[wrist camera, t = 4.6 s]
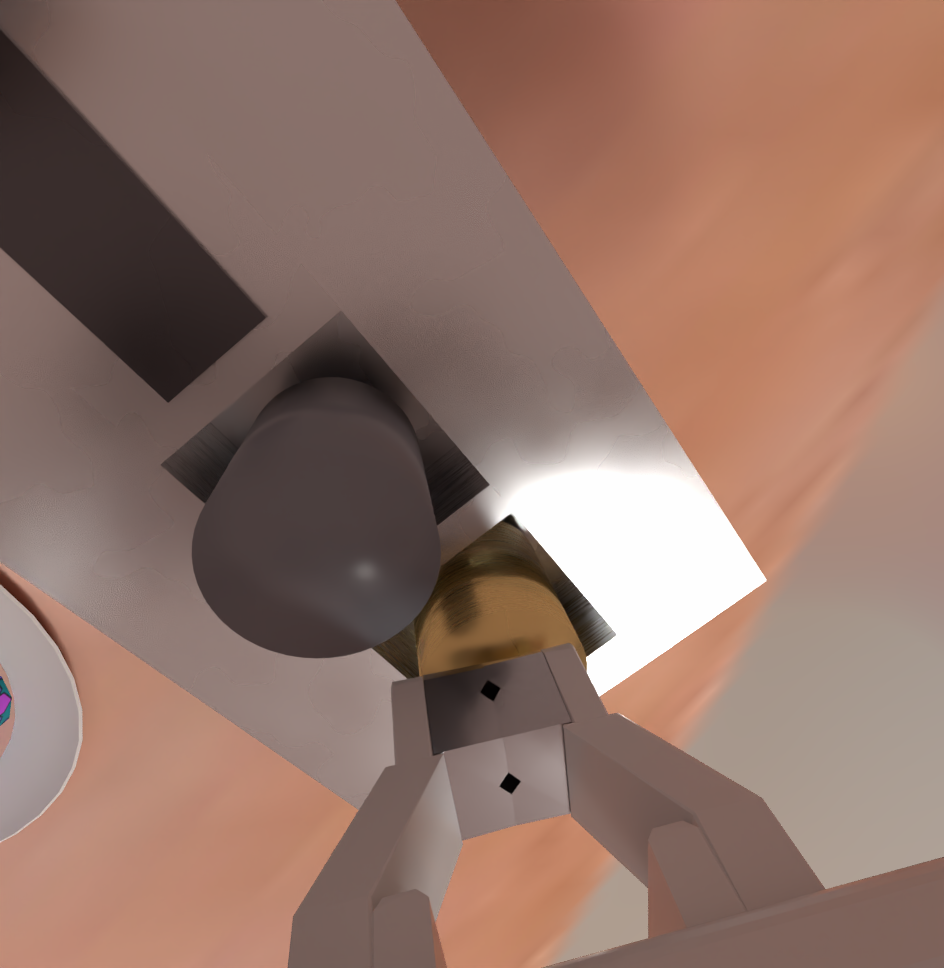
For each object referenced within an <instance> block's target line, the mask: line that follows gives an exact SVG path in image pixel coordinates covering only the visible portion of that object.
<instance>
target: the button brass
mask: <svg viewBox="0 0 944 968" xmlns="http://www.w3.org/2000/svg"><path fill="white" fill-rule="evenodd" d="M413 620H414V629H415V638H416V648H417V657H418V666H419V675H420V676H423V675H427V674H432V673H437V672H442V671H447V670H452V669H457V668H463V667H468V666H473V665H478V664H483V663H487V662H491V661H496V660H500V659H504V658H509V657H513V656H518V655H522V654H526V653H531V652H535V651H541V649H546V648H550V647H554V646H558V645H562V644H566V643H570V644H572V645H573V646H574V648H575V650H576V652H577V653H578V655H579V657H580V659H581V661H582V663H583V665H584V667H585V669H586V671H587V659H586V654H585V651H584V648H583V645H582V643H581V641H580V639H579V638H578V636H577V634H576V632H575V630H574V628H573V626H572V624H571V622H570V620H569V618H568V616H567V614H566V612H565V610H564V608H563V606H562V604H561V602H560V600H559V598H558V596H557V594H556V592H555V590H554V588H553V586H552V584H551V582H550V580H549V578H548V576H547V574H546V572H545V570H544V568H543V566H542V564H541V562H540V560H539V558H538V556H537V555H536V553H535V551H534V549H533V547H532V545H531V543H530V542H529V540H528V539H527V537H526V536H525V535H524V534H523V533H522V532H521V531H519V530H518V529H517V528H515V527H514V526H512V525H510V524H508V523H506V522H503V521H500V522H499V523H497V524H496V525H495V526H493V527H492V528H491V529H489V530H488V531H487V532H485V533H484V534H483V535H481V536H480V537H479V538H477V539H476V540H475V541H473V542H472V543H471V544H470V545H468V546H467V547H466V548H464V549H463V550H462V551H460V552H459V553H458V554H456V555H455V556H454V557H452V558H451V559H450V560H448V561H447V562H446V563H444V564H443V565H442V566H440V569H439V574H438V578H437V581H436V584H435V587H434V590H433V592H432V594H431V596H430V598H429V599H428V601H427V603H426V604H425V606H424V607H423V609H422V610H421V611H420V613H419V614H418V615H417V616H416V617H415V618H414V619H413Z"/></svg>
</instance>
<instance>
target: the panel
mask: <svg viewBox="0 0 944 968" xmlns="http://www.w3.org/2000/svg"><path fill="white" fill-rule="evenodd" d="M324 377H340V378H346V379H352V380H356V381H359V382H363V383H365V384H367V385H370V386H372V387H374V388H376V389H378V390H379V391H381V392H383V393H384V394H386V395H387V396H388V397H390V398H391V399H392V400H393V401H394V402H395V403H396V404H397V405H398V406H399V407H400V408H401V409H402V410H403V412H404V413H405V414H406V416H407V417H408V419H409V420H410V422H411V424H412V426H413V428H414V430H415V433H416V435H417V439H418V443H419V447H420V452H421V456H422V461H423V465H424V470H425V474H426V479H427V484H428V488H429V493H430V497H431V502H432V506H433V511H434V515H435V520H436V524H437V529H438V533H439V538H440V547H441V560H440V566H442V565H443V564H444V563H446V562H447V561H448V560H450V559H451V558H452V557H454V556H455V555H456V554H458V553H459V552H460V551H462V550H463V549H464V548H466V547H467V546H468V545H470V544H471V543H472V542H473V541H475V540H476V539H477V538H479V537H480V536H481V535H483V534H484V533H485V532H487V531H488V530H489V529H491V528H492V527H493V526H495V525H496V524H497V523H499V522H500V521H503V522H506V523H508V524H510V525H512V526H514V527H515V528H517V529H518V530H519V531H521V532H522V533H523V534H524V535H525V536H526V537H527V539H528V540H529V542H530V543H531V545H532V547H533V549H534V551H535V553H536V555H537V556H538V558H539V560H540V562H541V564H542V566H543V568H544V570H545V572H546V574H547V576H548V578H549V580H550V582H551V584H552V586H553V588H554V590H555V592H556V594H557V596H558V598H559V600H560V602H561V604H562V606H563V608H564V610H565V612H566V614H567V616H568V618H569V620H570V622H571V624H572V626H573V628H574V630H575V632H576V634H577V636H578V638H579V639H580V641H581V643H582V645H583V648H584V651H585V654H586V659H587V673H588V675H589V677H590V679H591V681H592V683H593V685H594V687H595V689H596V691H597V693H598V695H599V696H600V695H602V694H603V693H605V692H606V691H608V690H609V689H610V688H612V687H613V686H615V685H616V684H618V683H619V682H621V681H622V680H623V679H625V678H626V677H628V676H629V675H631V674H632V673H634V672H635V671H637V670H638V669H639V668H641V667H642V666H644V665H645V664H647V663H648V662H650V661H651V660H652V659H654V658H655V657H657V656H658V655H660V654H661V653H663V652H664V651H666V650H667V649H668V648H670V647H671V646H673V645H674V644H676V643H677V642H679V641H680V640H681V639H683V638H684V637H686V636H687V635H689V634H690V633H692V632H693V631H694V630H696V629H697V628H699V627H700V626H702V625H703V624H705V623H706V622H708V621H709V620H710V619H712V618H713V617H715V616H716V615H718V614H719V613H721V612H722V611H723V610H725V609H726V608H728V607H729V606H731V605H732V604H734V603H735V602H737V601H738V600H739V599H741V598H742V597H744V596H745V595H747V594H748V593H750V592H751V591H752V590H754V589H755V588H757V587H758V586H760V585H761V584H763V583H764V582H766V581H767V580H766V579H765V577H764V575H763V574H762V572H761V571H760V569H759V568H758V566H757V564H756V563H755V561H754V560H753V558H752V557H751V555H750V554H749V552H748V550H747V549H746V547H745V546H744V544H743V543H742V541H741V539H740V538H739V536H738V535H737V533H736V532H735V530H734V529H733V527H732V525H731V524H730V522H729V521H728V519H727V518H726V516H725V514H724V513H723V511H722V510H721V508H720V507H719V505H718V504H717V502H716V500H715V499H714V497H713V496H712V494H711V493H710V491H709V489H708V488H707V486H706V485H705V483H704V482H703V480H702V479H701V477H700V475H699V474H698V472H697V471H696V469H695V468H694V466H693V464H692V463H691V461H690V460H689V458H688V457H687V455H686V454H685V452H684V450H683V449H682V447H681V446H680V444H679V443H678V441H677V439H676V438H675V436H674V435H673V433H672V432H671V430H670V429H669V427H668V425H667V424H666V422H665V421H664V419H663V418H662V416H661V414H660V413H659V411H658V410H657V408H656V407H655V405H654V404H653V402H652V400H651V399H650V397H649V396H648V394H647V393H646V391H645V389H644V388H643V386H642V385H641V383H640V382H639V380H638V379H637V377H636V375H635V374H634V372H633V371H632V369H631V368H630V366H629V364H628V363H627V361H626V360H625V358H624V357H623V355H622V354H621V352H620V350H619V349H618V347H617V346H616V344H615V343H614V341H613V339H612V338H611V336H610V335H609V333H608V332H607V330H606V329H605V327H604V325H603V324H602V322H601V321H600V319H599V318H598V316H597V315H596V313H595V311H594V310H593V308H592V307H591V305H590V304H589V302H588V300H587V299H586V297H585V296H584V294H583V293H582V291H581V290H580V288H579V286H578V285H577V283H576V282H575V280H574V279H573V277H572V275H571V274H570V272H569V271H568V269H567V268H566V266H565V265H564V263H563V261H562V260H561V258H560V257H559V255H558V254H557V252H556V250H555V249H554V247H553V246H552V244H551V243H550V241H549V240H548V238H547V236H546V235H545V233H544V232H543V230H542V229H541V227H540V225H539V224H538V222H537V221H536V219H535V218H534V216H533V215H532V213H531V211H530V210H529V208H528V207H527V205H526V204H525V202H524V200H523V199H522V197H521V196H520V194H519V193H518V191H517V190H516V188H515V186H514V185H513V183H512V182H511V180H510V179H509V177H508V175H507V174H506V172H505V171H504V169H503V168H502V166H501V165H500V163H499V161H498V160H497V158H496V157H495V155H494V154H493V152H492V150H491V149H490V147H489V146H488V144H487V143H486V141H485V140H484V138H483V136H482V135H481V133H480V132H479V130H478V129H477V127H476V125H475V124H474V122H473V121H472V119H471V118H470V116H469V115H468V113H467V111H466V110H465V108H464V107H463V105H462V104H461V102H460V100H459V99H458V97H457V96H456V94H455V93H454V91H453V90H452V88H451V86H450V85H449V83H448V82H447V80H446V79H445V77H444V75H443V74H442V72H441V71H440V69H439V68H438V66H437V65H436V63H435V61H434V60H433V58H432V57H431V55H430V54H429V52H428V50H427V49H426V47H425V46H424V44H423V43H422V41H421V40H420V38H419V36H418V35H417V33H416V32H415V30H414V29H413V27H412V25H411V24H410V22H409V21H408V19H407V18H406V16H405V15H404V13H403V11H402V10H401V8H400V7H399V5H398V4H397V2H396V0H0V562H1V563H2V564H4V565H5V566H7V567H8V568H10V569H11V570H12V571H14V572H15V573H17V574H18V575H20V576H21V577H23V578H24V579H25V580H27V581H28V582H30V583H31V584H33V585H34V586H36V587H37V588H39V589H40V590H41V591H43V592H44V593H46V594H47V595H49V596H50V597H52V598H53V599H54V600H56V601H57V602H59V603H60V604H62V605H63V606H65V607H66V608H67V609H69V610H70V611H72V612H73V613H75V614H76V615H78V616H79V617H80V618H82V619H83V620H85V621H86V622H88V623H89V624H91V625H92V626H93V627H95V628H96V629H98V630H99V631H101V632H102V633H104V634H105V635H107V636H108V637H109V638H111V639H112V640H114V641H115V642H117V643H118V644H120V645H121V646H122V647H124V648H125V649H127V650H128V651H130V652H131V653H133V654H134V655H135V656H137V657H138V658H140V659H141V660H143V661H144V662H146V663H147V664H148V665H150V666H151V667H153V668H154V669H156V670H157V671H159V672H160V673H161V674H163V675H164V676H166V677H167V678H169V679H170V680H172V681H173V682H174V683H176V684H177V685H179V686H180V687H182V688H183V689H185V690H186V691H188V692H189V693H190V694H192V695H193V696H195V697H196V698H198V699H199V700H201V701H202V702H203V703H205V704H206V705H208V706H209V707H211V708H212V709H214V710H215V711H216V712H218V713H219V714H221V715H222V716H224V717H225V718H227V719H228V720H229V721H231V722H232V723H234V724H235V725H237V726H238V727H240V728H241V729H242V730H244V731H245V732H247V733H248V734H250V735H251V736H253V737H254V738H256V739H257V740H258V741H260V742H261V743H263V744H264V745H266V746H267V747H269V748H270V749H271V750H273V751H274V752H276V753H277V754H279V755H280V756H282V757H283V758H284V759H286V760H287V761H289V762H290V763H292V764H293V765H295V766H296V767H297V768H299V769H300V770H302V771H303V772H305V773H306V774H308V775H309V776H310V777H312V778H313V779H315V780H316V781H318V782H319V783H321V784H322V785H324V786H325V787H326V788H328V789H329V790H331V791H332V792H334V793H335V794H337V795H338V796H339V797H341V798H342V799H344V800H345V801H347V802H348V803H350V804H351V805H352V806H354V807H355V808H357V809H358V810H359V809H360V807H361V806H362V804H363V803H364V801H365V799H366V798H367V796H368V795H369V793H370V791H371V790H372V788H373V786H374V785H375V783H376V782H377V780H378V778H379V777H380V775H381V773H382V772H383V770H384V769H385V767H388V766H392V765H395V757H394V739H393V721H392V704H391V685H392V682H394V681H399V680H405V679H410V678H415V677H420V675H419V666H418V657H417V648H416V638H415V629H414V620H413V621H412V622H411V623H410V624H409V625H407V626H406V627H405V628H404V629H403V630H401V631H400V632H399V633H398V634H396V635H394V636H393V637H391V638H390V639H388V640H387V641H385V642H383V643H381V644H379V645H377V646H375V647H372V648H370V649H367V650H364V651H362V652H358V653H354V654H351V655H347V656H340V657H334V658H301V657H295V656H288V655H284V654H280V653H277V652H273V651H270V650H267V649H265V648H262V647H260V646H257V645H256V644H254V643H252V642H250V641H248V640H246V639H244V638H243V637H241V636H240V635H238V634H237V633H235V632H234V631H232V630H231V629H230V628H229V627H228V626H227V625H226V624H225V623H223V622H222V621H221V620H220V619H219V617H218V616H217V615H216V614H215V613H214V612H213V611H212V609H211V608H210V606H209V605H208V603H207V602H206V600H205V599H204V597H203V595H202V593H201V591H200V589H199V587H198V584H197V581H196V578H195V574H194V571H193V564H192V540H193V534H194V529H195V526H196V523H197V520H198V518H199V515H200V513H201V511H202V509H203V507H204V506H205V504H206V502H207V500H208V498H209V497H210V495H211V493H212V492H213V490H214V488H215V487H216V485H217V483H218V482H219V480H220V478H221V477H222V475H223V473H224V472H225V470H226V468H227V467H228V465H229V463H230V462H231V460H232V458H233V457H234V455H235V453H236V452H237V450H238V448H239V447H240V445H241V443H242V442H243V440H244V438H245V437H246V435H247V433H248V432H249V430H250V428H251V427H252V425H253V423H254V422H255V420H256V418H257V417H258V415H259V413H260V412H261V411H262V410H263V408H264V407H265V406H266V405H267V404H268V403H269V402H270V401H271V400H272V399H273V398H274V397H275V396H276V395H278V394H279V393H281V392H282V391H283V390H285V389H287V388H289V387H291V386H293V385H295V384H298V383H300V382H303V381H306V380H311V379H315V378H324Z"/></svg>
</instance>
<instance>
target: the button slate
mask: <svg viewBox="0 0 944 968" xmlns="http://www.w3.org/2000/svg"><path fill="white" fill-rule="evenodd" d="M440 560H441V547H440V538H439V533H438V529H437V524H436V520H435V515H434V511H433V506H432V502H431V497H430V493H429V488H428V484H427V479H426V474H425V470H424V465H423V461H422V456H421V452H420V447H419V443H418V439H417V435H416V433H415V430H414V428H413V426H412V424H411V422H410V420H409V419H408V417H407V416H406V414H405V413H404V412H403V410H402V409H401V408H400V407H399V406H398V405H397V404H396V403H395V402H394V401H393V400H392V399H391V398H390V397H388V396H387V395H386V394H384V393H383V392H381V391H379V390H378V389H376V388H374V387H372V386H370V385H367V384H365V383H363V382H359V381H356V380H352V379H346V378H340V377H324V378H315V379H311V380H306V381H303V382H300V383H298V384H295V385H293V386H291V387H289V388H287V389H285V390H283V391H282V392H281V393H279V394H278V395H276V396H275V397H274V398H273V399H272V400H271V401H270V402H269V403H268V404H267V405H266V406H265V407H264V408H263V410H262V411H261V412H260V413H259V415H258V417H257V418H256V420H255V422H254V423H253V425H252V427H251V428H250V430H249V432H248V433H247V435H246V437H245V438H244V440H243V442H242V443H241V445H240V447H239V448H238V450H237V452H236V453H235V455H234V457H233V458H232V460H231V462H230V463H229V465H228V467H227V468H226V470H225V472H224V473H223V475H222V477H221V478H220V480H219V482H218V483H217V485H216V487H215V488H214V490H213V492H212V493H211V495H210V497H209V498H208V500H207V502H206V504H205V506H204V507H203V509H202V511H201V513H200V515H199V518H198V520H197V523H196V526H195V529H194V534H193V540H192V564H193V571H194V574H195V578H196V581H197V584H198V587H199V589H200V591H201V593H202V595H203V597H204V599H205V600H206V602H207V603H208V605H209V606H210V608H211V609H212V611H213V612H214V613H215V614H216V615H217V616H218V617H219V619H220V620H221V621H222V622H223V623H225V624H226V625H227V626H228V627H229V628H230V629H231V630H232V631H234V632H235V633H237V634H238V635H240V636H241V637H243V638H244V639H246V640H248V641H250V642H252V643H254V644H256V645H257V646H260V647H262V648H265V649H267V650H270V651H273V652H277V653H280V654H284V655H288V656H295V657H301V658H334V657H340V656H347V655H351V654H354V653H358V652H362V651H364V650H367V649H370V648H372V647H375V646H377V645H379V644H381V643H383V642H385V641H387V640H388V639H390V638H391V637H393V636H394V635H396V634H398V633H399V632H400V631H401V630H403V629H404V628H405V627H406V626H407V625H409V624H410V623H411V622H412V621H413V619H414V618H415V617H416V616H417V615H418V614H419V613H420V611H421V610H422V609H423V607H424V606H425V604H426V603H427V601H428V599H429V598H430V596H431V594H432V592H433V590H434V587H435V584H436V581H437V578H438V574H439V569H440Z"/></svg>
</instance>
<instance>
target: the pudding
mask: <svg viewBox="0 0 944 968" xmlns="http://www.w3.org/2000/svg"><path fill="white" fill-rule="evenodd" d="M0 663H1V665H2V667H3V669H4V670H5V672H6V674H7V676H8V679H9V682H10V685H11V689H12V692H13V695H14V703H15V722H14V727H13V732H12V736H11V739H10V741H9V743H8V745H7V747H6V749H5V751H4V753H3V755H2V757H1V758H0V842H2V841H4V840H6V839H8V838H10V837H12V836H14V835H16V834H17V833H18V832H20V831H21V830H22V829H24V828H25V827H26V826H28V825H29V824H30V823H32V822H33V821H34V820H36V819H37V818H38V817H40V816H41V815H42V814H43V813H44V812H45V811H46V810H47V808H48V807H49V806H50V805H51V804H52V803H53V802H54V801H55V799H56V798H57V797H58V796H59V795H60V794H61V793H62V791H63V789H64V787H65V785H66V784H67V782H68V780H69V778H70V776H71V775H72V773H73V771H74V769H75V767H76V763H77V759H78V755H79V751H80V747H81V744H82V707H81V703H80V699H79V696H78V692H77V688H76V684H75V680H74V678H73V676H72V674H71V672H70V670H69V668H68V666H67V664H66V662H65V660H64V658H63V656H62V654H61V652H60V650H59V648H58V646H57V645H56V644H55V643H54V641H53V640H52V639H51V637H50V636H49V635H48V633H47V632H46V631H45V630H44V628H43V627H42V626H41V624H40V623H39V622H38V621H37V619H36V618H35V617H34V615H33V614H32V613H30V612H29V611H28V610H27V609H26V608H25V607H24V606H23V605H22V604H21V603H20V602H19V601H18V600H16V599H15V598H14V597H13V596H12V595H11V594H10V593H9V592H8V591H7V590H6V589H5V588H3V587H2V586H1V585H0ZM11 699H12V697H11V695H10V693H9V691H8V689H7V687H6V685H5V683H4V681H3V679H2V677H1V676H0V726H1V725H2V724H3V723H4V722H5V721H6V720H7V719H9V716H10V708H11Z"/></svg>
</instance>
